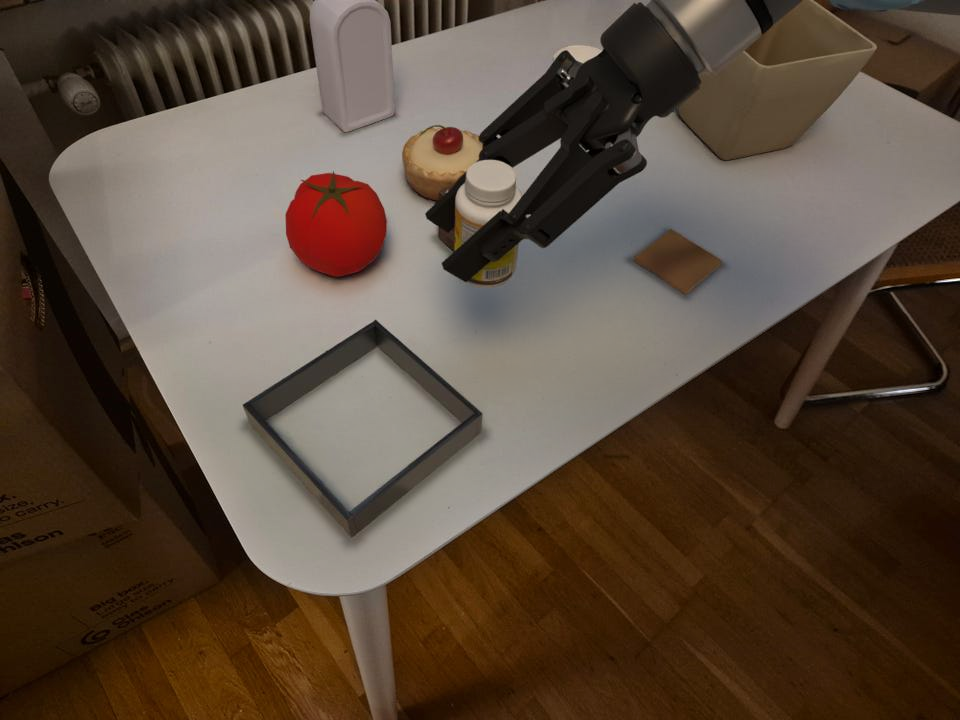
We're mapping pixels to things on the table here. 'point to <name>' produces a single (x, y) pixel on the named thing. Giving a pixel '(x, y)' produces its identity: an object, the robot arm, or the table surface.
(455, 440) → the dark grey square frame
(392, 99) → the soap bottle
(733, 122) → the flower pot
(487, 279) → the supplement bottle
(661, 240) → the coaster
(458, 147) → the pastry
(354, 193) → the tomato
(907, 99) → the table surface
